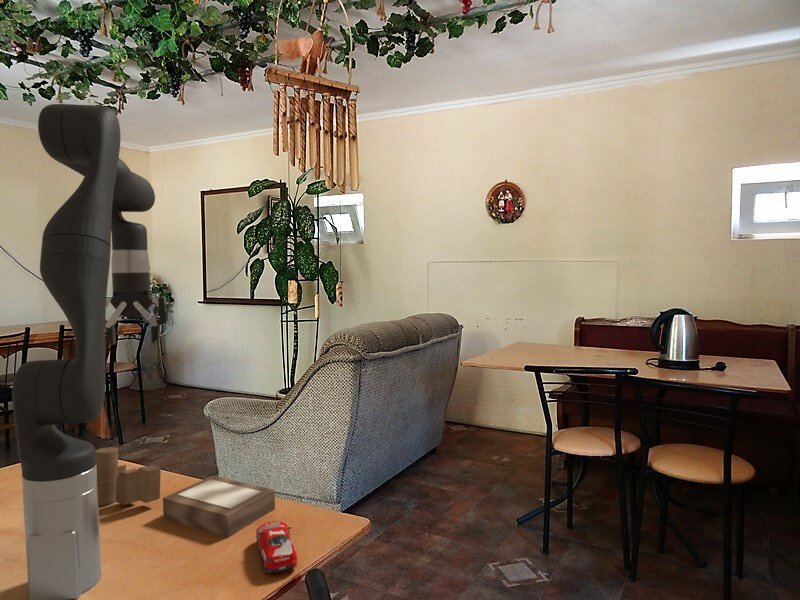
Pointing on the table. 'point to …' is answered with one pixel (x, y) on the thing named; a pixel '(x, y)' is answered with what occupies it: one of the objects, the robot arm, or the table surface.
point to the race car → (276, 547)
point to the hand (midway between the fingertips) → (133, 343)
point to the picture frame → (219, 505)
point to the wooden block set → (124, 480)
